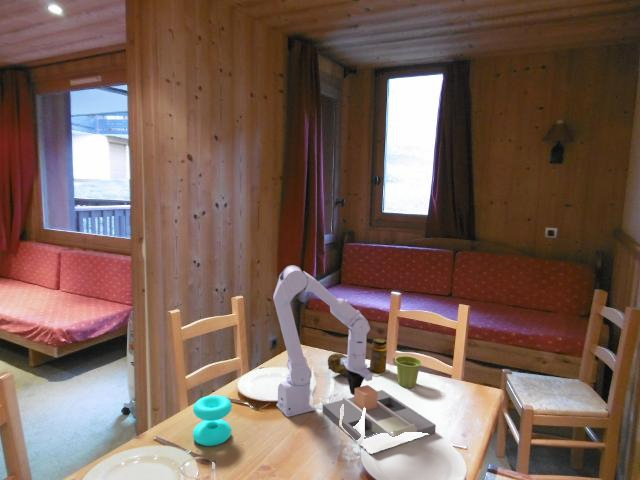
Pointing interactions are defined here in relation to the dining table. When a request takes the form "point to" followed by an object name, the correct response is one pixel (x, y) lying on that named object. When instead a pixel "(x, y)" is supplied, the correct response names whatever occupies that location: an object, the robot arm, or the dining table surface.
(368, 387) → the terracotta block
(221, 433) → the donuts
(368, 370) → the robot arm
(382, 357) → the condiment
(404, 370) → the plant pot
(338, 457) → the dining table surface
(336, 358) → the potato
